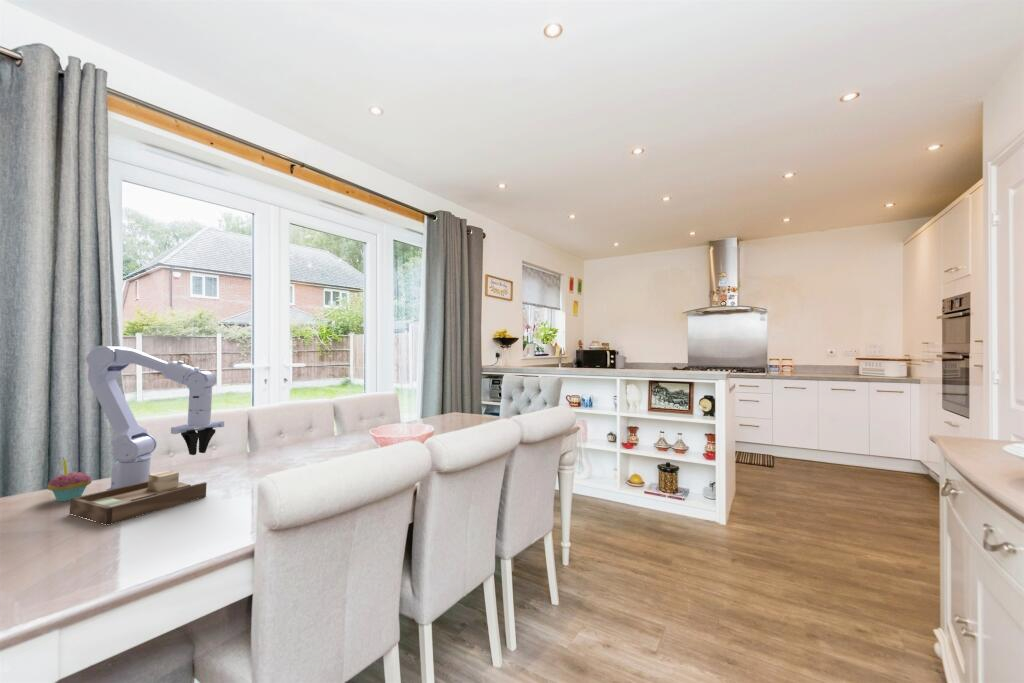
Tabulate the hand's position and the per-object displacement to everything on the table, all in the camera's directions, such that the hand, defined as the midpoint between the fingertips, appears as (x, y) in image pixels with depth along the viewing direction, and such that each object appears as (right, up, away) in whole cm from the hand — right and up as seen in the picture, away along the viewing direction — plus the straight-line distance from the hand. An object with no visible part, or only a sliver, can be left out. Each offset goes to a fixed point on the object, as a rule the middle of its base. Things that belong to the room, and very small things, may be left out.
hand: (197, 453), depth 130 cm
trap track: (-3, -10, -15) cm, 18 cm away
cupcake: (-26, -9, -13) cm, 31 cm away
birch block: (-3, -8, -9) cm, 12 cm away
